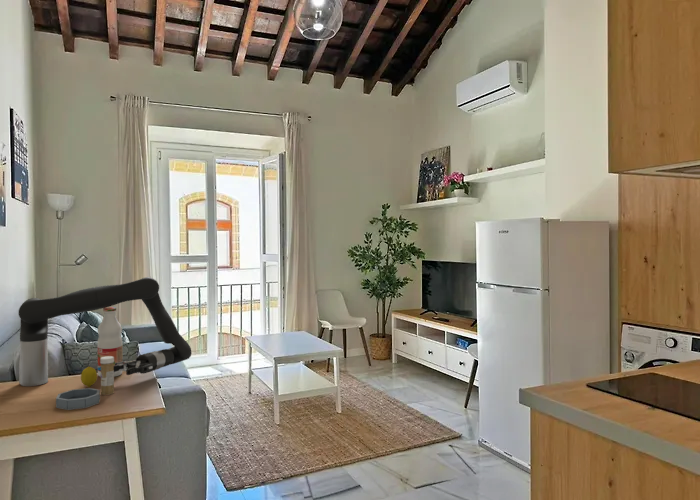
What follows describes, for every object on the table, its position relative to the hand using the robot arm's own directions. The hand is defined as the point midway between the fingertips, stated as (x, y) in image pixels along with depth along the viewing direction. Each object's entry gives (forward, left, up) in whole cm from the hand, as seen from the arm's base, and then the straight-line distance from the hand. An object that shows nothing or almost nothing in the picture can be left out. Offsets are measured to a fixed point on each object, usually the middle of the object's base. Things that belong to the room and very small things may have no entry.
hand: (118, 371), depth 195 cm
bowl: (0, -17, -7) cm, 18 cm away
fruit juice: (-20, +14, -7) cm, 25 cm away
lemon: (-13, -2, -7) cm, 15 cm away
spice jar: (0, -5, -7) cm, 9 cm away
